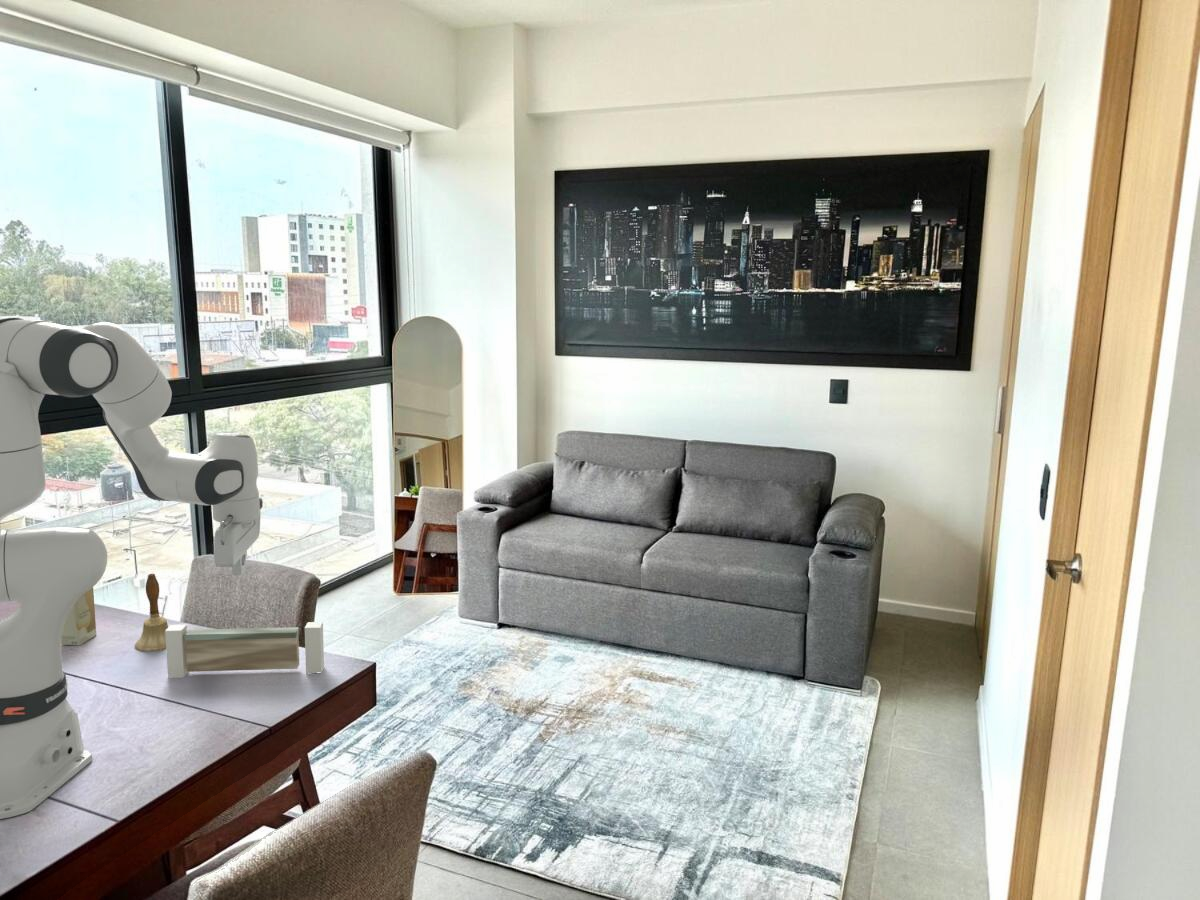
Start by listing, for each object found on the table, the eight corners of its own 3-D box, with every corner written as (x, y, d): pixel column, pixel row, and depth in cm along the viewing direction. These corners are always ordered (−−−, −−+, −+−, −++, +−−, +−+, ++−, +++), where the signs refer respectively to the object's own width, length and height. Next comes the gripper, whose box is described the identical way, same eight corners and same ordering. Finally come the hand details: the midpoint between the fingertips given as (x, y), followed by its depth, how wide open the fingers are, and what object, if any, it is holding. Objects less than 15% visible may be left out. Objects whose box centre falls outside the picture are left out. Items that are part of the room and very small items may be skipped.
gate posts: (321, 673, 169) (320, 627, 167) (168, 678, 164) (165, 630, 163) (324, 667, 172) (322, 621, 170) (173, 671, 167) (170, 624, 166)
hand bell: (174, 649, 178) (170, 578, 175) (130, 653, 175) (125, 581, 172) (180, 634, 185) (176, 566, 183) (139, 638, 183) (134, 569, 180)
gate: (296, 669, 168) (295, 632, 167) (186, 672, 165) (184, 634, 164) (299, 663, 171) (298, 627, 169) (191, 666, 168) (189, 629, 166)
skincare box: (79, 646, 178) (75, 592, 175) (59, 645, 178) (55, 591, 176) (98, 634, 184) (94, 582, 182) (78, 633, 184) (74, 581, 182)
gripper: (237, 523, 160) (240, 591, 163) (264, 497, 180) (266, 557, 183) (203, 523, 159) (206, 591, 162) (234, 497, 179) (236, 557, 182)
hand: (239, 573), depth 172 cm, fingers closed
